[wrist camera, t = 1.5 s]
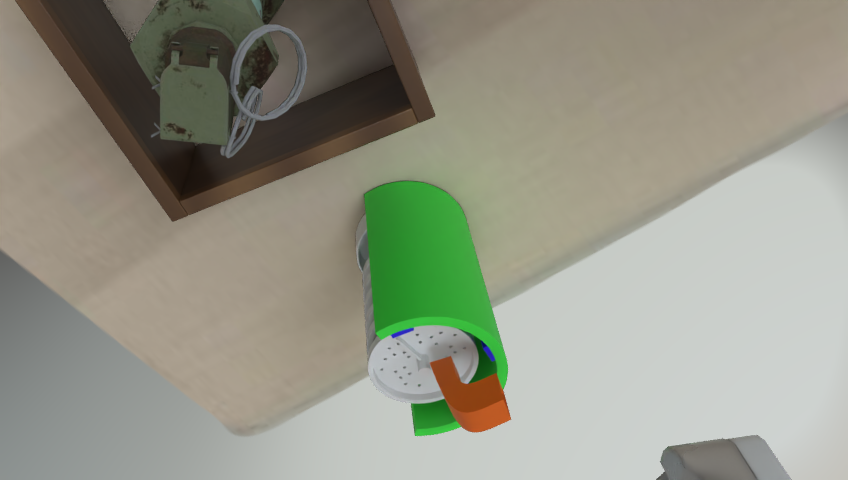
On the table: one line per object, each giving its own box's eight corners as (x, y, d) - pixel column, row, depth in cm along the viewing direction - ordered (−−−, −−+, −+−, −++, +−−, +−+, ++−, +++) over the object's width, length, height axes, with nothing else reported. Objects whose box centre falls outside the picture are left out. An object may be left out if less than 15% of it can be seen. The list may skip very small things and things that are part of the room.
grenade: (174, 47, 42) (116, 171, 30) (172, -75, 38) (105, 8, 26) (302, 63, 43) (298, 187, 31) (312, -54, 40) (312, 35, 27)
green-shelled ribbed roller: (327, 213, 49) (333, 410, 35) (430, 157, 48) (481, 338, 33) (393, 299, 54) (422, 504, 40) (488, 251, 53) (555, 446, 38)
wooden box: (307, -215, 36) (306, -207, 30) (419, 68, 44) (435, 116, 39) (28, -86, 37) (-26, -56, 31) (190, 162, 46) (172, 222, 40)
